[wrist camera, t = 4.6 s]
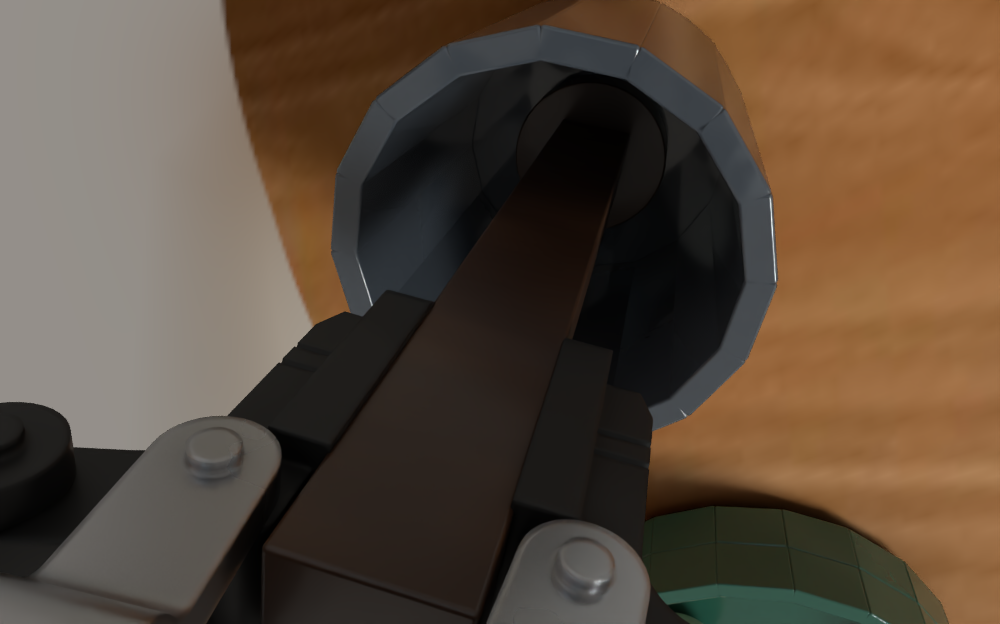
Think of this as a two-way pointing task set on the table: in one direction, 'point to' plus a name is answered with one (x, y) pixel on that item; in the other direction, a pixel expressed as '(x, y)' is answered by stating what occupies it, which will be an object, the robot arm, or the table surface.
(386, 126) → the crock
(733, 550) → the bowl
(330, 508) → the dark brown wooden bar
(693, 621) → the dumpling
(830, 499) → the table surface
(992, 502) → the table surface
